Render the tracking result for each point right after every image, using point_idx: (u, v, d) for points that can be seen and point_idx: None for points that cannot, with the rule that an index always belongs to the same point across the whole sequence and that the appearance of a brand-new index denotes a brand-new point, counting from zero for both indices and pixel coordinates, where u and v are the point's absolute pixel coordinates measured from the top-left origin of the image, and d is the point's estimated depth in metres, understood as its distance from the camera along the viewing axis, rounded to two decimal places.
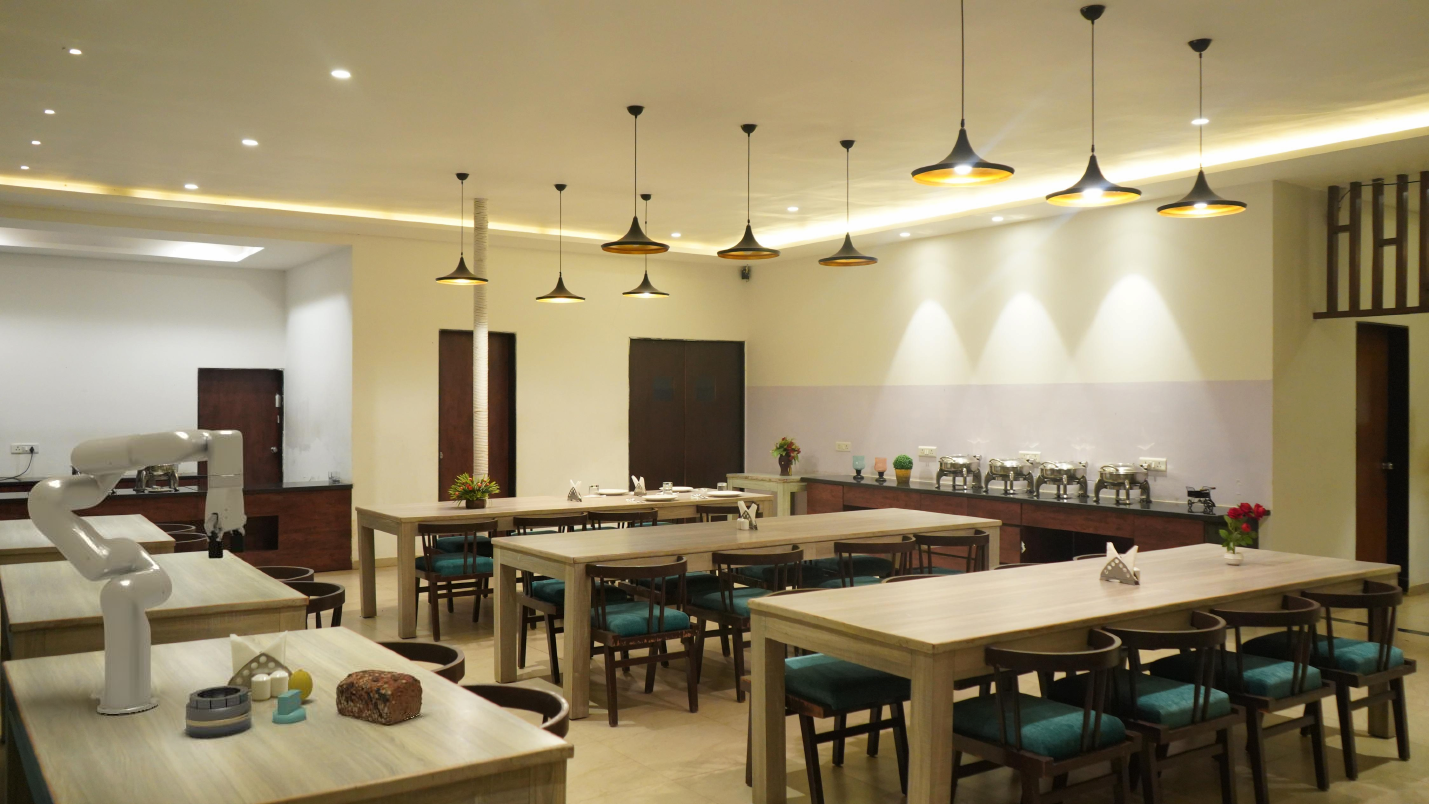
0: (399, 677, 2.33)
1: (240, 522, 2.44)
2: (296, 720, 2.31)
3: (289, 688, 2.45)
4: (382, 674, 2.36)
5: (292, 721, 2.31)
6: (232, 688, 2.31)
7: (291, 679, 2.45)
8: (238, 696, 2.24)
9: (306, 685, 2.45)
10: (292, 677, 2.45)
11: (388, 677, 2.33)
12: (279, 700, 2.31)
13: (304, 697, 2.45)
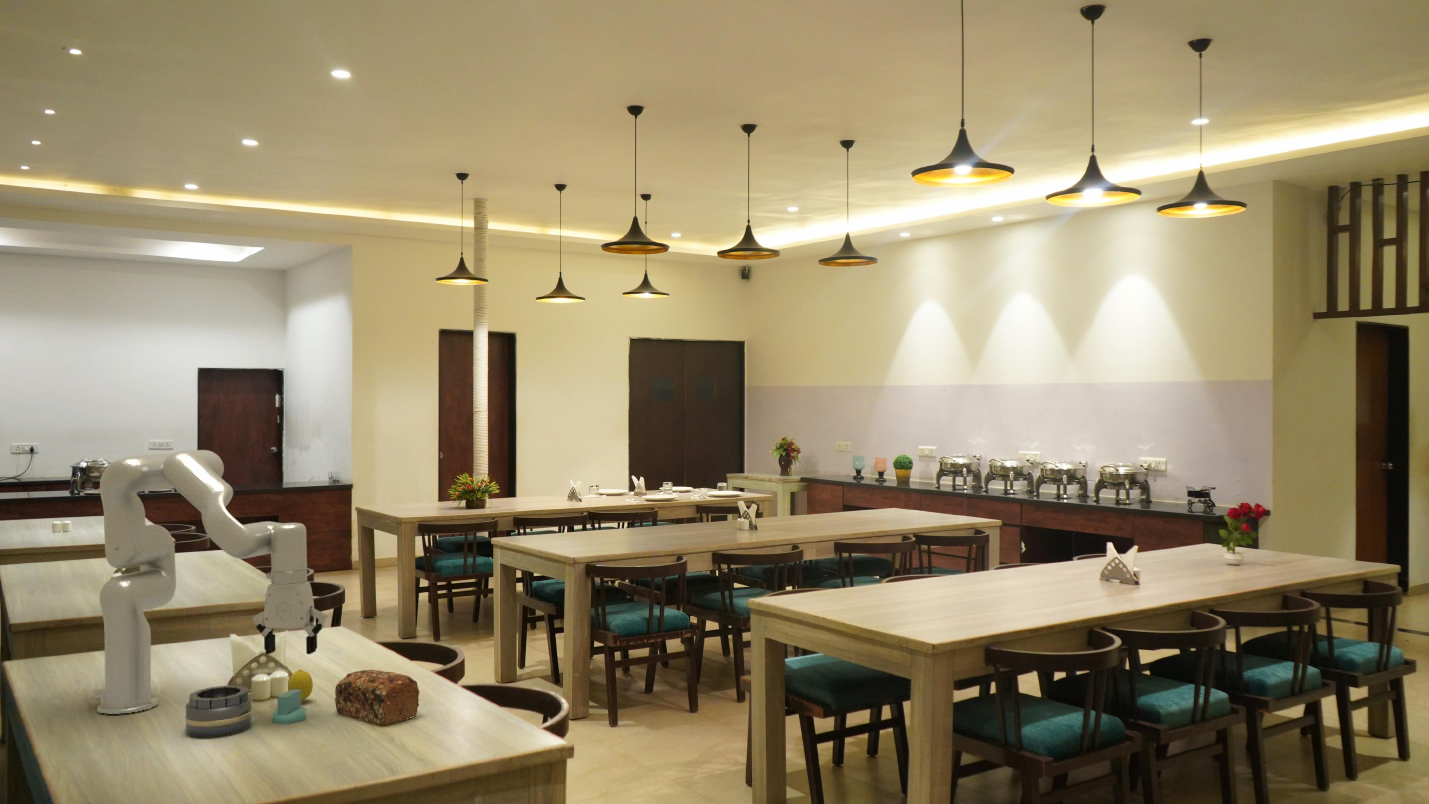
0: (395, 678, 2.32)
1: None
2: (296, 720, 2.31)
3: (289, 688, 2.45)
4: (379, 674, 2.35)
5: (292, 721, 2.31)
6: (232, 688, 2.31)
7: (291, 679, 2.45)
8: (238, 696, 2.24)
9: (306, 685, 2.45)
10: (292, 677, 2.45)
11: (384, 678, 2.33)
12: (279, 700, 2.31)
13: (304, 697, 2.45)
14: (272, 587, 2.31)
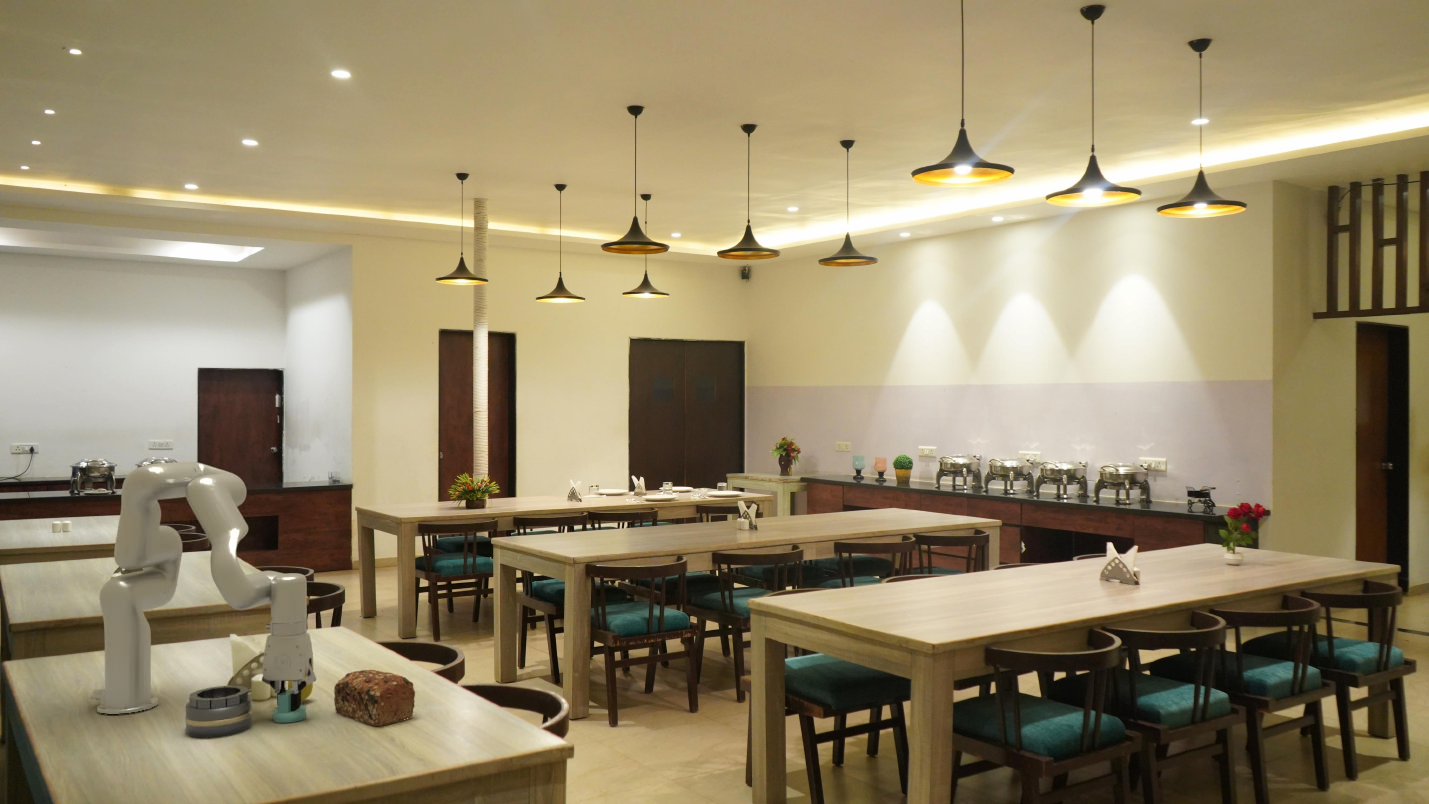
0: (390, 679, 2.31)
1: None
2: (296, 719, 2.31)
3: (289, 688, 2.45)
4: (376, 675, 2.35)
5: (292, 719, 2.31)
6: (232, 688, 2.31)
7: None
8: (238, 696, 2.24)
9: None
10: None
11: (380, 678, 2.32)
12: (279, 698, 2.31)
13: (304, 697, 2.45)
14: (271, 638, 2.31)
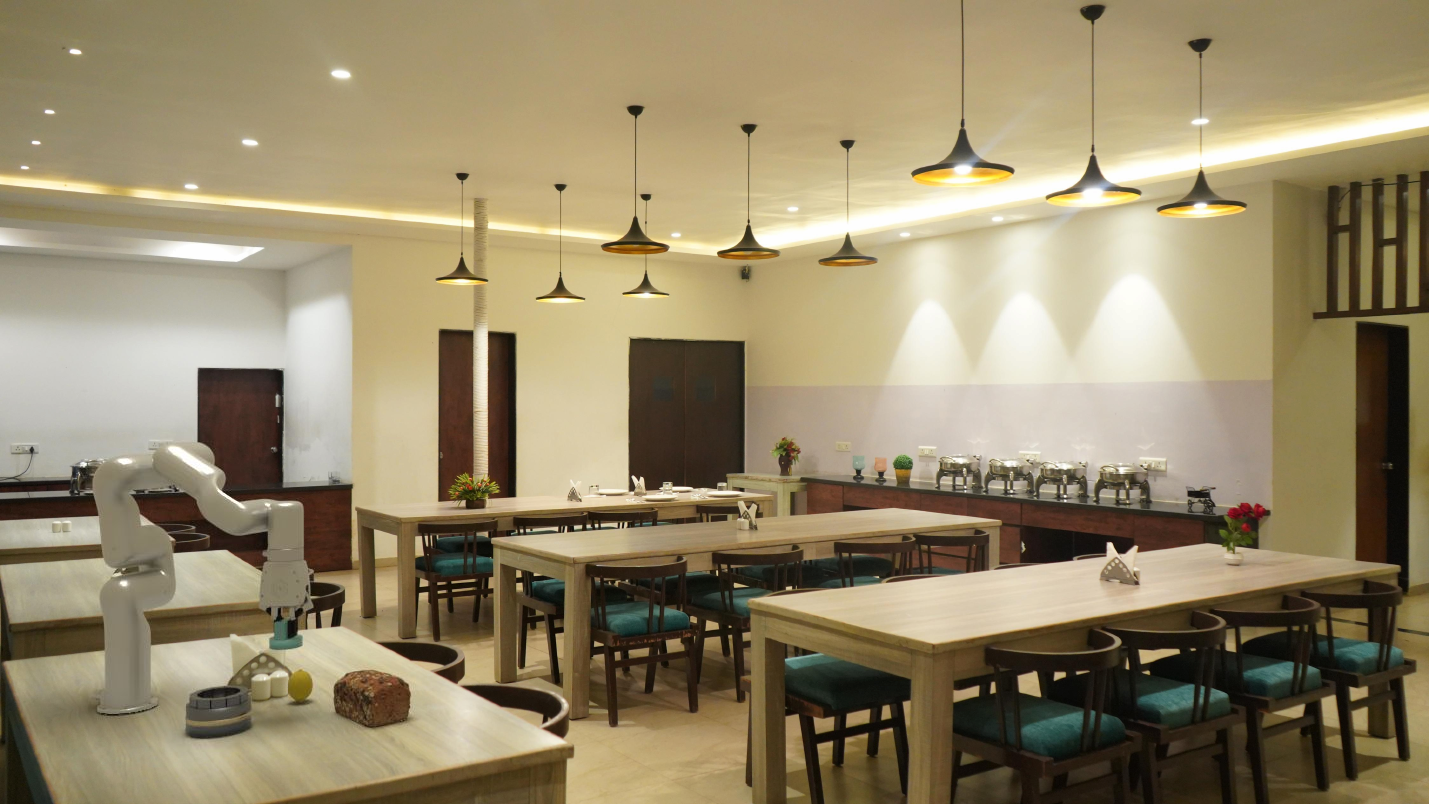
0: (386, 679, 2.31)
1: None
2: (292, 646, 2.31)
3: (289, 688, 2.45)
4: (373, 675, 2.35)
5: (289, 647, 2.30)
6: (232, 688, 2.31)
7: (291, 679, 2.45)
8: (238, 696, 2.24)
9: (306, 685, 2.45)
10: (292, 677, 2.45)
11: (376, 679, 2.32)
12: (276, 626, 2.30)
13: (304, 697, 2.45)
14: (268, 565, 2.31)
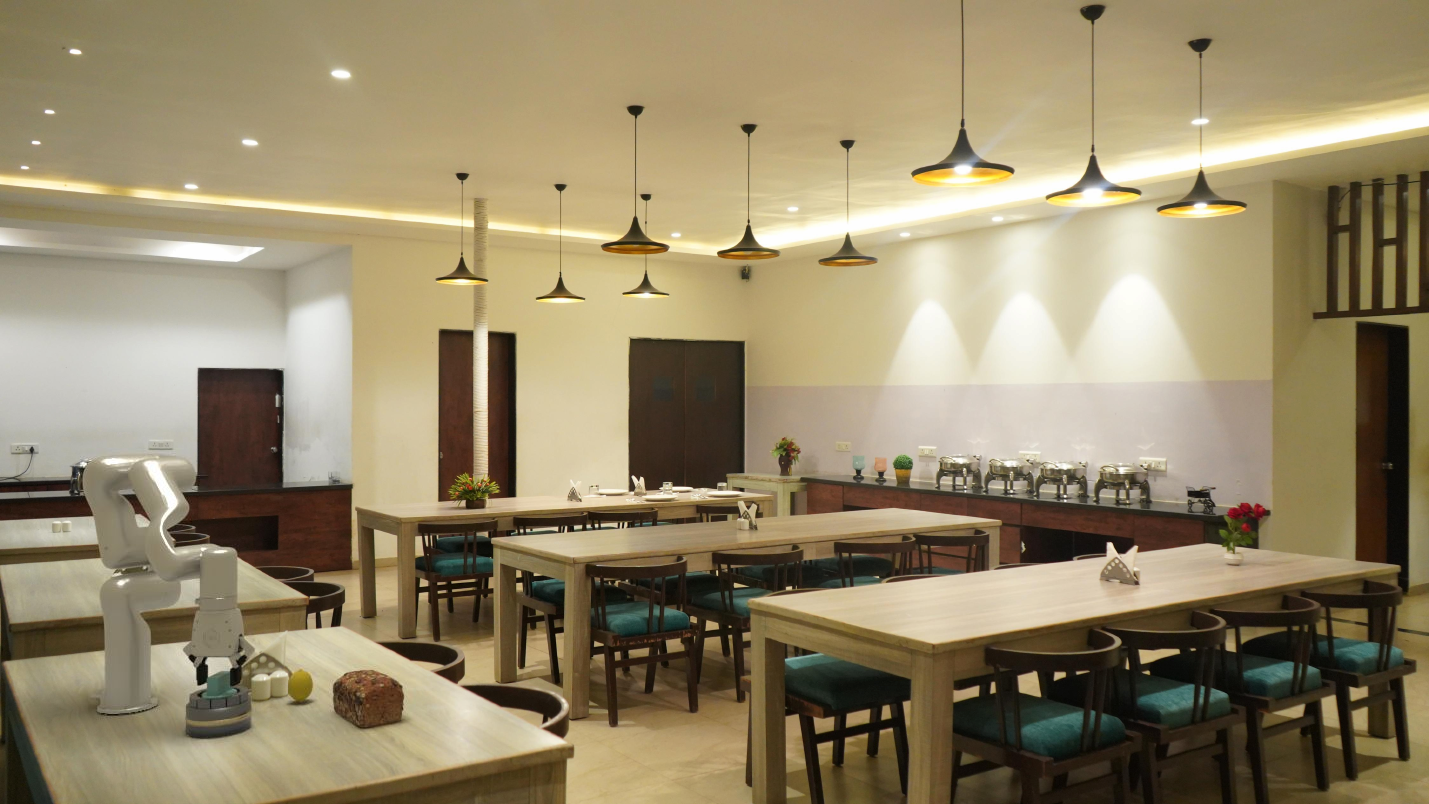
0: (378, 680, 2.30)
1: None
2: None
3: (289, 688, 2.45)
4: (368, 676, 2.34)
5: None
6: (232, 688, 2.31)
7: (291, 679, 2.45)
8: (238, 696, 2.24)
9: (306, 685, 2.45)
10: (292, 677, 2.45)
11: (370, 679, 2.31)
12: (208, 681, 2.24)
13: (304, 697, 2.45)
14: (200, 614, 2.25)
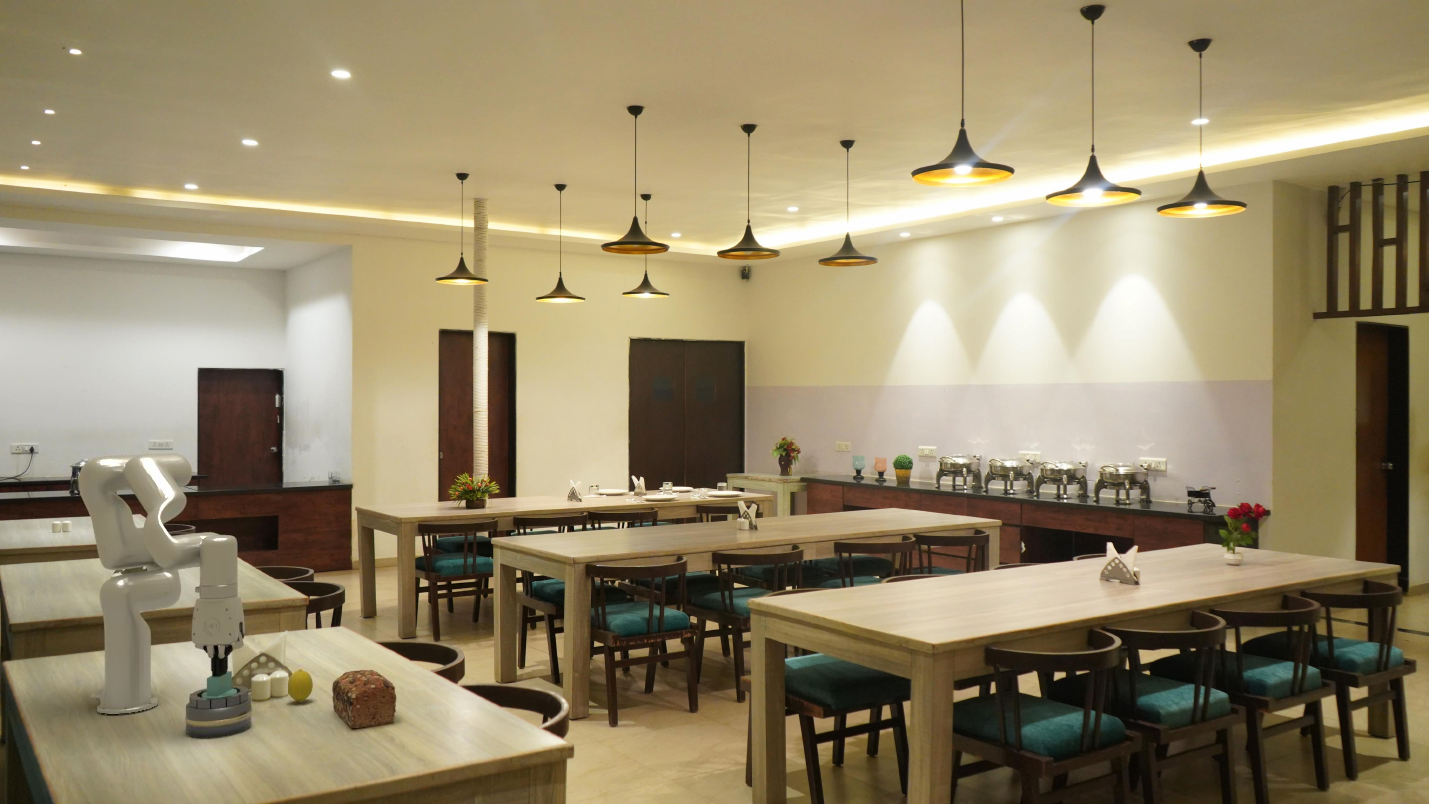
0: (370, 681, 2.29)
1: None
2: None
3: (289, 688, 2.45)
4: (364, 676, 2.34)
5: None
6: (232, 688, 2.31)
7: (291, 679, 2.45)
8: (238, 696, 2.24)
9: (306, 685, 2.45)
10: (292, 677, 2.45)
11: (363, 680, 2.31)
12: (208, 681, 2.24)
13: (304, 697, 2.45)
14: (200, 601, 2.25)
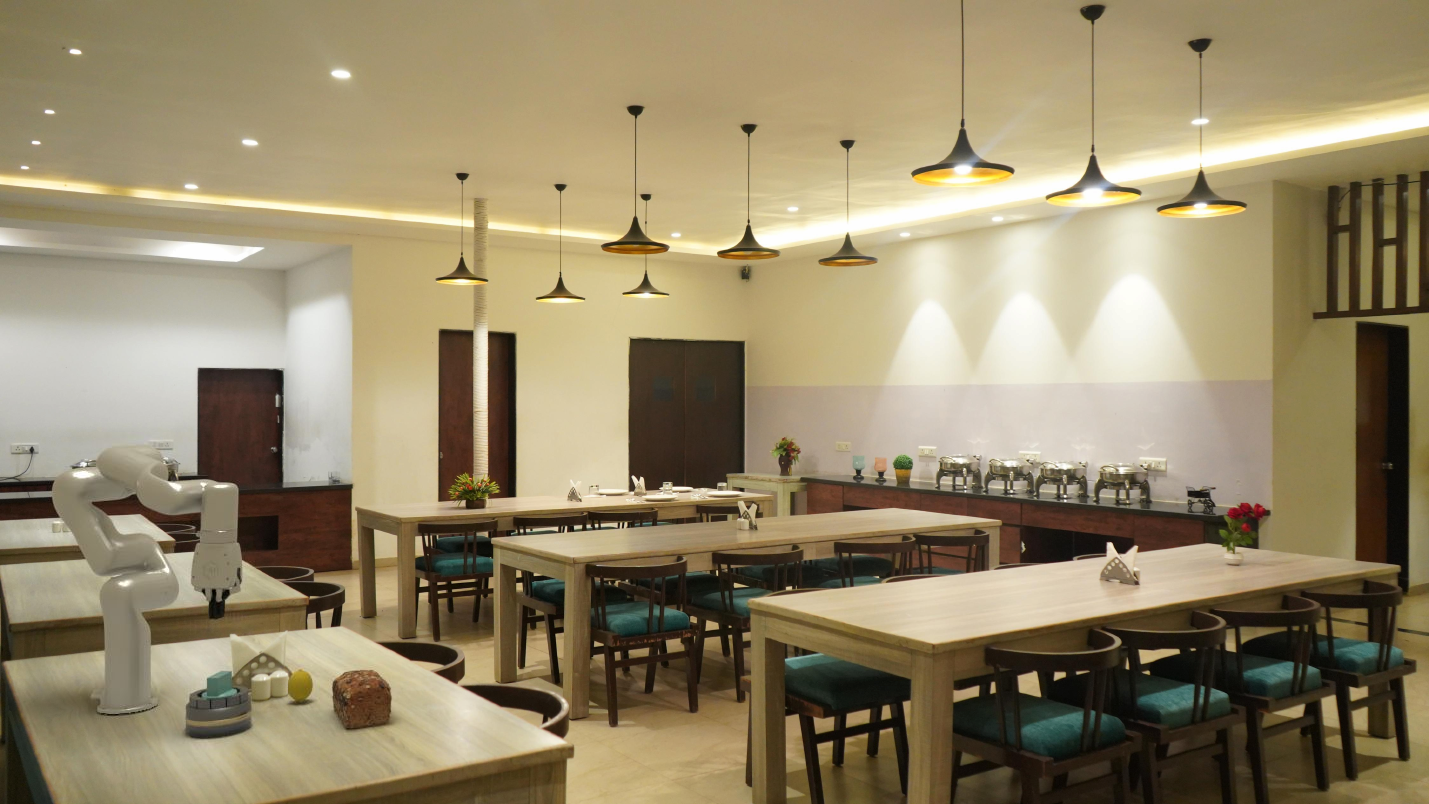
0: (366, 682, 2.29)
1: None
2: None
3: (289, 688, 2.45)
4: (361, 676, 2.34)
5: None
6: (232, 688, 2.31)
7: (291, 679, 2.45)
8: (238, 696, 2.24)
9: (306, 685, 2.45)
10: (292, 677, 2.45)
11: (359, 680, 2.31)
12: (208, 681, 2.24)
13: (304, 697, 2.45)
14: (200, 546, 2.31)
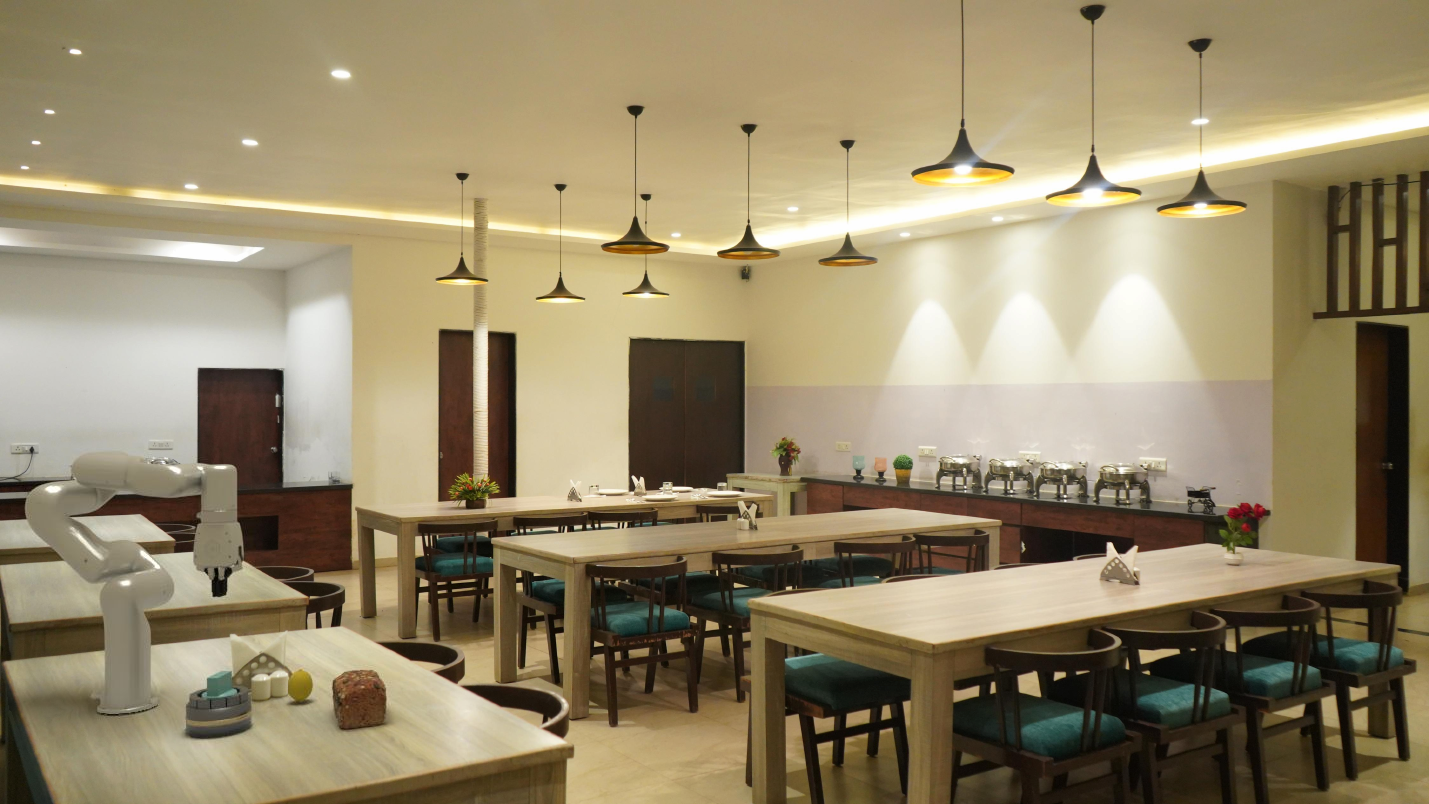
0: (361, 682, 2.29)
1: None
2: None
3: (289, 688, 2.45)
4: (358, 676, 2.34)
5: None
6: (232, 688, 2.31)
7: (291, 679, 2.45)
8: (238, 696, 2.24)
9: (306, 685, 2.45)
10: (292, 677, 2.45)
11: (355, 680, 2.30)
12: (208, 681, 2.24)
13: (304, 697, 2.45)
14: (202, 526, 2.37)
